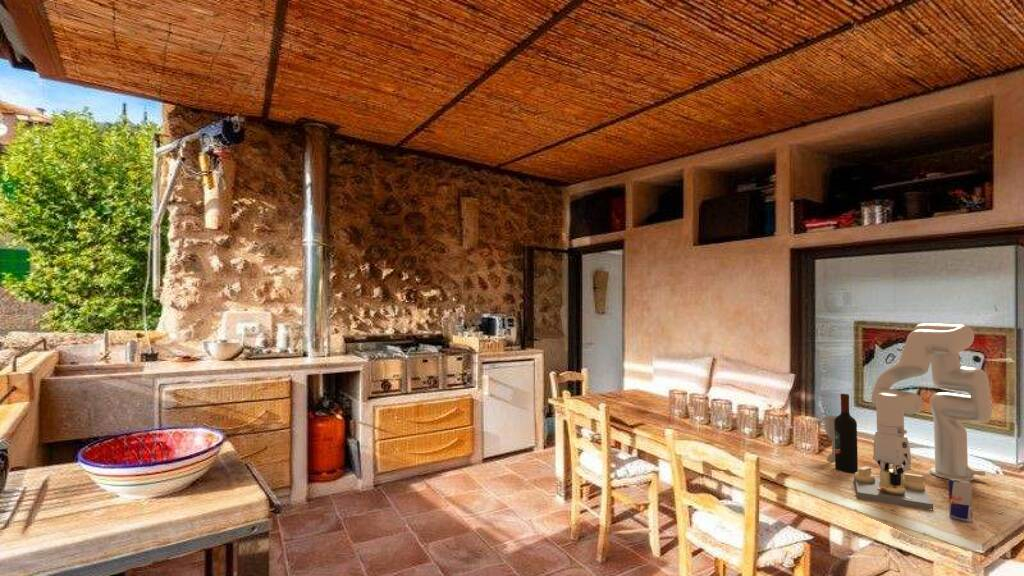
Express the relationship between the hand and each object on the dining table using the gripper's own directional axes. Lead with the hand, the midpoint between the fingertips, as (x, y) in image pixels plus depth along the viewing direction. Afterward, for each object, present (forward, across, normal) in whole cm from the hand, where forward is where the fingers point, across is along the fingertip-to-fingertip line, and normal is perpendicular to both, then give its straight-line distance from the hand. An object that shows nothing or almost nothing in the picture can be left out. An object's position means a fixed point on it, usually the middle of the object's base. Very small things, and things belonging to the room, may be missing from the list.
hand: (891, 483), depth 171 cm
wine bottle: (+5, +27, -10) cm, 29 cm away
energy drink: (+5, -18, -4) cm, 20 cm away
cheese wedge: (+3, 0, +1) cm, 3 cm away
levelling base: (+5, +3, -3) cm, 6 cm away
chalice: (+5, +38, -16) cm, 42 cm away
